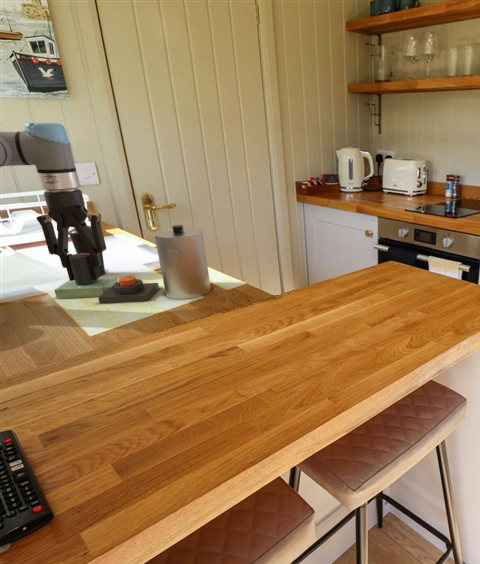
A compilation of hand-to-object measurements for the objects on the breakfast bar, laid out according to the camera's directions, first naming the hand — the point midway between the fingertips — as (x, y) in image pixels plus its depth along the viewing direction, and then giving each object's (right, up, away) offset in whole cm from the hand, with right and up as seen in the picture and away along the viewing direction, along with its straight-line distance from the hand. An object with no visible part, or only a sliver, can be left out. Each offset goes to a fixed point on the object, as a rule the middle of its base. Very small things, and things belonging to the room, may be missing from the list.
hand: (85, 278), depth 112 cm
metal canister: (+26, -4, +3) cm, 27 cm away
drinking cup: (-8, +1, +14) cm, 16 cm away
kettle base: (+13, -5, -1) cm, 14 cm away
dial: (0, -1, 0) cm, 1 cm away
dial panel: (0, -4, +2) cm, 4 cm away
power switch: (+13, -2, -2) cm, 13 cm away
